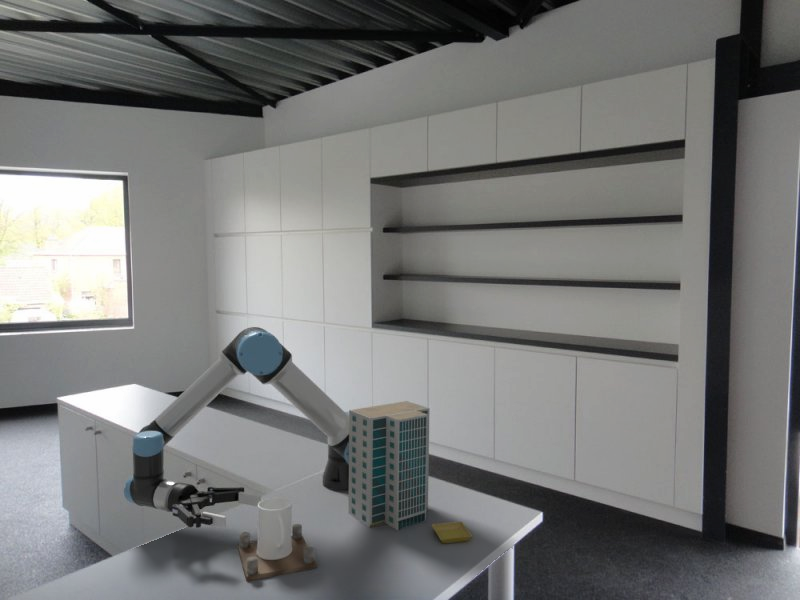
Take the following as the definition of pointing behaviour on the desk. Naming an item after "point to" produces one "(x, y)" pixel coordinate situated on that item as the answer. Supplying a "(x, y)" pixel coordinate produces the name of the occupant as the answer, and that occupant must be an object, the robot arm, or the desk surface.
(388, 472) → the building model
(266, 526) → the mug
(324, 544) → the desk surface
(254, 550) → the board with corner pegs
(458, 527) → the yellow square slab
